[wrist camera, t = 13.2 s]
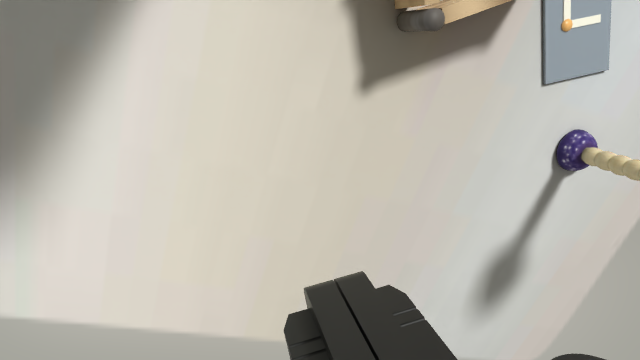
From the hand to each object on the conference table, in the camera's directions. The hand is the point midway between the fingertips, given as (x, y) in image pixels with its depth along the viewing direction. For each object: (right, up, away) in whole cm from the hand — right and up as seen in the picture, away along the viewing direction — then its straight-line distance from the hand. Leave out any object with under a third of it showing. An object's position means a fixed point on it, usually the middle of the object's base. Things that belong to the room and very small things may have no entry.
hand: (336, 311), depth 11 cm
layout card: (+23, +20, +31) cm, 43 cm away
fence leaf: (+12, +18, +28) cm, 36 cm away
